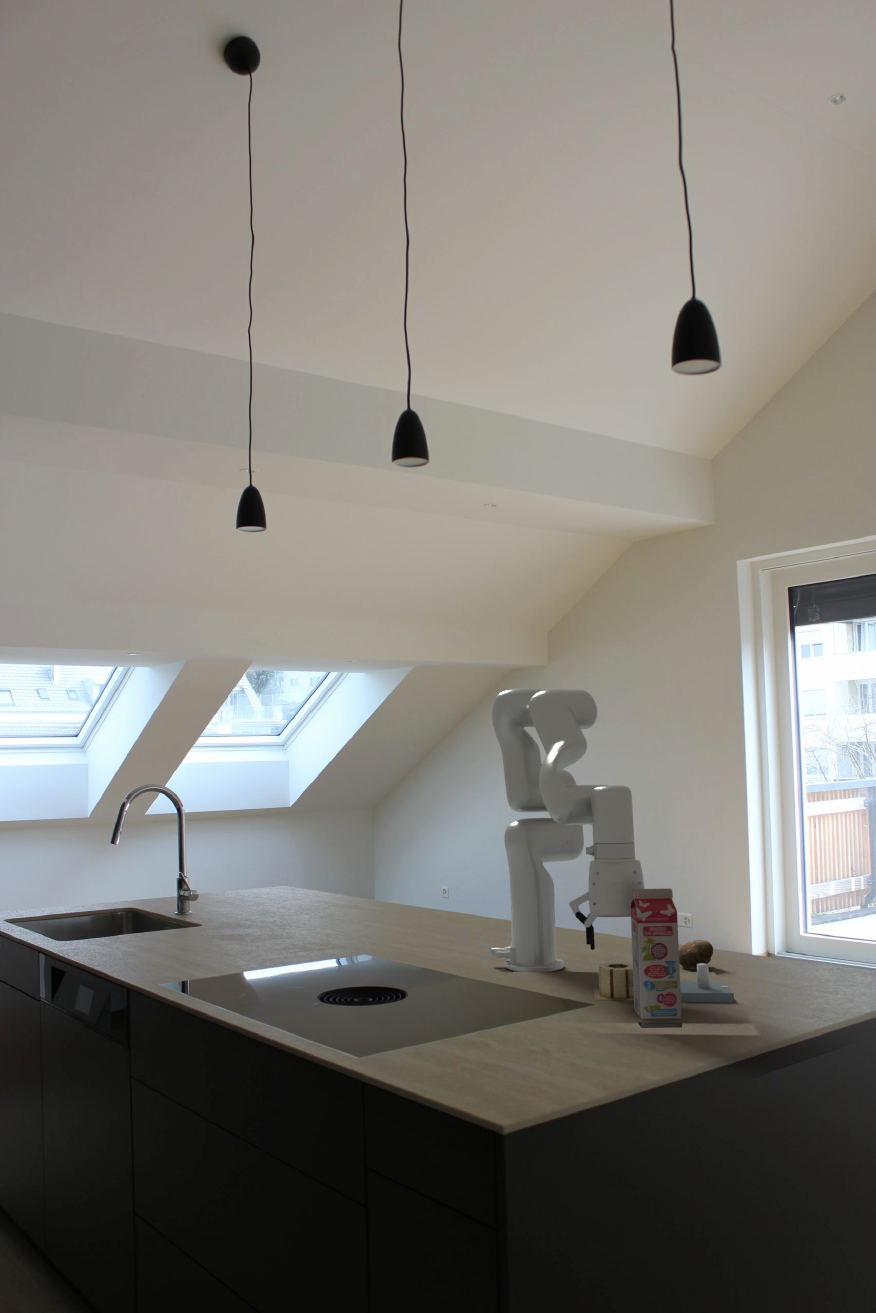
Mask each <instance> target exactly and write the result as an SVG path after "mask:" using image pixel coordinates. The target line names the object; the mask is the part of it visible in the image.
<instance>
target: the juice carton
mask: <svg viewBox="0 0 876 1313" xmlns="http://www.w3.org/2000/svg"><path fill="white" fill-rule="evenodd" d="M673 894H674V893H673V889H672V888H644V889H633V900H632V903H631V917H630V928H631V930H630V931H631V953H632V955H631V957H632V964H633V984H634V1000H633V1003H634V1004H633V1005H634V1010H635V1012H636V1014H637V1016H639V1018H640V1019H641V1020H643V1019H644V1020H646V1019H647V1020H648V1019H651V1020H652V1019H658V1020H659V1019H663V1020H664V1019H682V1016H683V1015H682V1014H683V1012H682V1002H681V990H680V982H681V970H680V969H681V968H680V964H679V950H680V948H679V947H680V946H679V924H678V922H679V921H678V910H677V908H676V905H675V903H674V900H673V898H674V897H673ZM637 1024H638V1025H639V1027H640V1028H641V1029H657V1028H658V1029H661V1028H662V1029H664V1028H666V1029H667V1028H668V1029H669V1028H670V1029H671V1028H672V1029H674V1028H677V1029H678V1028H683V1023H682V1022H648V1021H647V1022H645V1021H644V1022H643V1021H642V1022H641V1021H638V1022H637Z"/></svg>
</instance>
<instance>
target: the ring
mask: <svg viewBox="0 0 876 1313" xmlns="http://www.w3.org/2000/svg"><path fill="white" fill-rule="evenodd" d="M597 966H598V989H599V994H600V995H601V996H603V997H607V998H614V999H626V998H633V997H634V984H633V963H631V962H622V961H619V962H618V961H617V962H614V961H611V962H603V963H599V964H598V965H597Z"/></svg>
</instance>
